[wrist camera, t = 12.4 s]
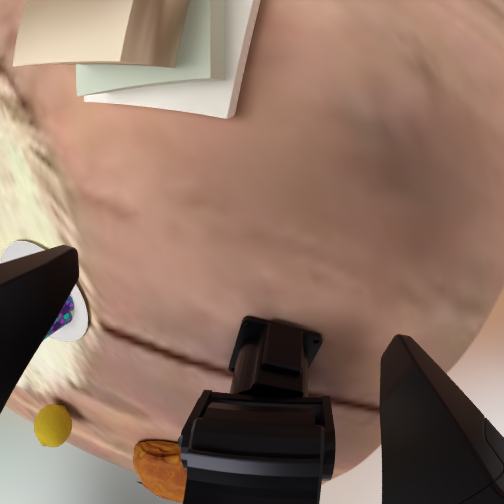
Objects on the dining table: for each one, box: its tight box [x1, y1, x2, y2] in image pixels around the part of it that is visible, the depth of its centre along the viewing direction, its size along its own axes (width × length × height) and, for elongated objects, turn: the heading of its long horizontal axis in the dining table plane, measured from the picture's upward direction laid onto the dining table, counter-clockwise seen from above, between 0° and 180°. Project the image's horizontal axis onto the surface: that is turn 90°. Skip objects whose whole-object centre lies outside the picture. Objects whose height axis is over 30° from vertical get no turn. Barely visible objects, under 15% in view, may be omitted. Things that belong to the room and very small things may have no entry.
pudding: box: [1, 241, 88, 342], centre depth 25 cm, size 12×12×5 cm
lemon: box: [34, 404, 72, 447], centre depth 35 cm, size 6×6×8 cm
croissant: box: [133, 440, 187, 502], centre depth 37 cm, size 14×16×8 cm
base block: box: [84, 0, 261, 119], centre depth 15 cm, size 9×9×3 cm
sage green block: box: [76, 0, 225, 97], centre depth 12 cm, size 7×7×3 cm
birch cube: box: [13, 0, 190, 68], centre depth 9 cm, size 5×5×5 cm
